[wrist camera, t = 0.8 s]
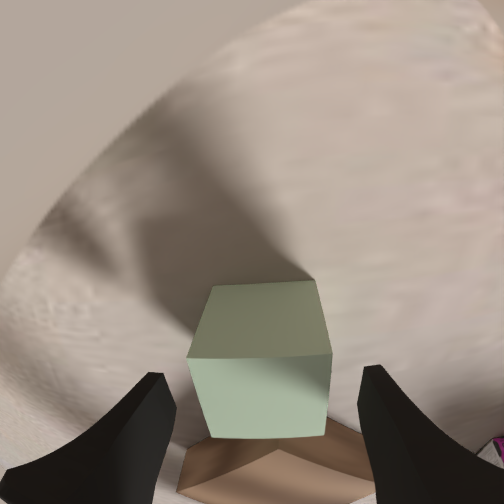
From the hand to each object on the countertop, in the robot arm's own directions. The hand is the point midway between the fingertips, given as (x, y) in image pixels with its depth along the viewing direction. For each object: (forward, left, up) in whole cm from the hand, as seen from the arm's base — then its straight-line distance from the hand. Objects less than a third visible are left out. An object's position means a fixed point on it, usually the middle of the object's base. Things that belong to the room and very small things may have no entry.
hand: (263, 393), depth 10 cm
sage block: (0, 0, -5) cm, 5 cm away
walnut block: (-8, -9, -4) cm, 13 cm away
